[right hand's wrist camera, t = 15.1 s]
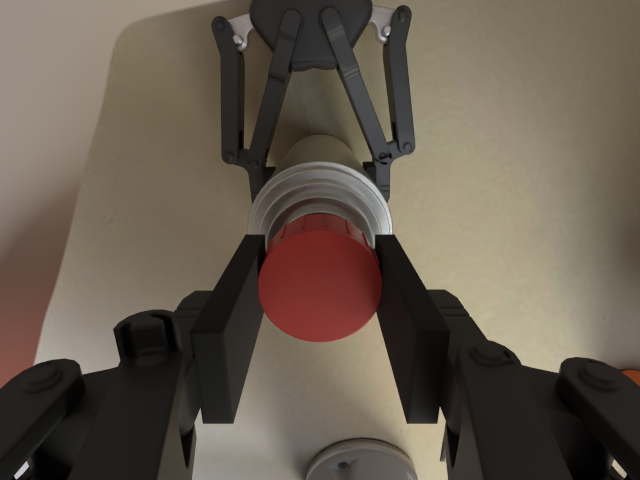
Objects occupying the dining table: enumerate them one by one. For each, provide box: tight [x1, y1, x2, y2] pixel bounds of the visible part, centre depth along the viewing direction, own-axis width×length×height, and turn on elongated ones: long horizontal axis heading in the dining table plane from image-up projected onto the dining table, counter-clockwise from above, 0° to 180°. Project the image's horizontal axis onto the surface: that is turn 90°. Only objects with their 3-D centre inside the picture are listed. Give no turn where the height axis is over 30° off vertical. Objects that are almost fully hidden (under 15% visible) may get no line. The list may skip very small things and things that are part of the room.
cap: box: [258, 213, 382, 342], centre depth 14 cm, size 4×4×2 cm
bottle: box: [248, 134, 393, 250], centre depth 24 cm, size 7×7×24 cm
